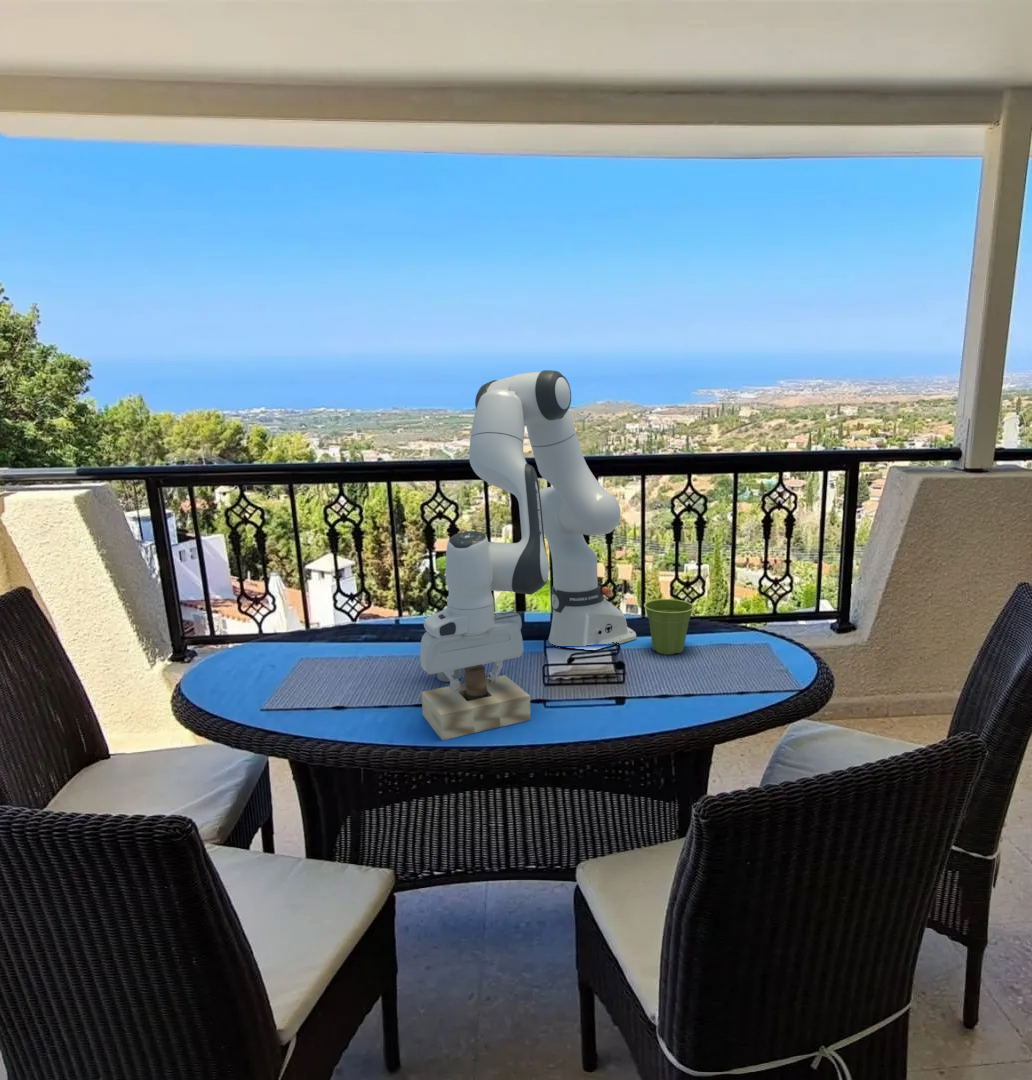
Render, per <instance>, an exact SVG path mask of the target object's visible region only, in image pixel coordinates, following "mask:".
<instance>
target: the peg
mask: <svg viewBox="0 0 1032 1080" xmlns="http://www.w3.org/2000/svg"><path fill="white" fill-rule="evenodd" d="M485 667H486V666H485V665H484V664H482V665H477V666H472V667H467V668H463V669H464V670H463V671H464V680H465V681H464V683H466V695H467V701H471V700H475V699H480V698H485V697H487V687H486V679H487V677H486V668H485Z"/></svg>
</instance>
